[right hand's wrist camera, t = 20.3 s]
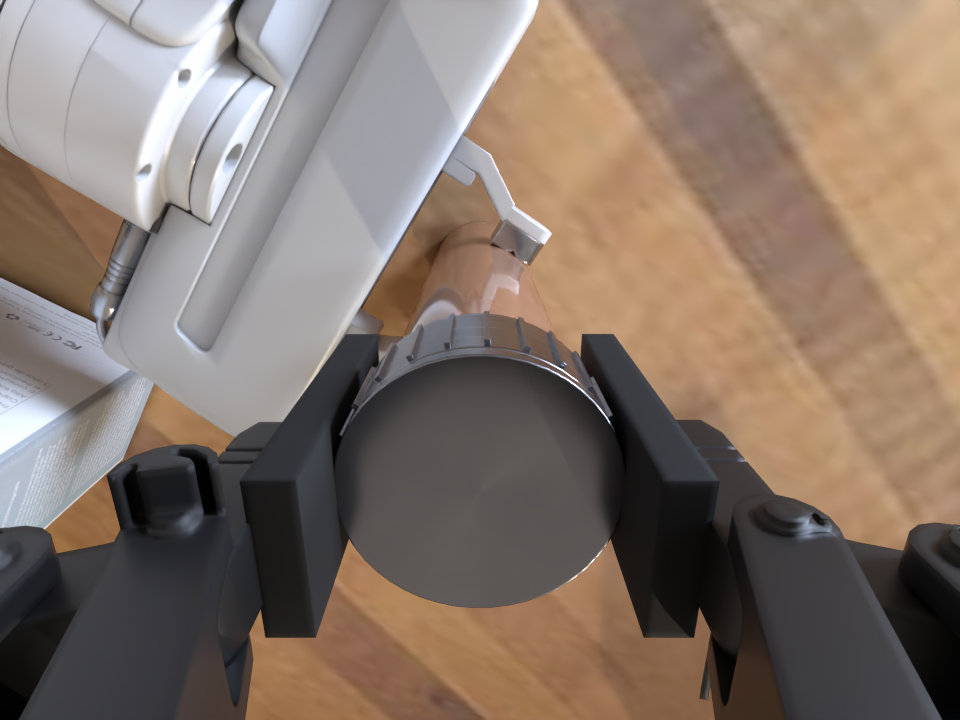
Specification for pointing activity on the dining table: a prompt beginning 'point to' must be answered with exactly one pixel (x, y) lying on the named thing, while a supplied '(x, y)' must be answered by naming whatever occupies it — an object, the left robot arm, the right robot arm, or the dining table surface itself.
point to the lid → (479, 463)
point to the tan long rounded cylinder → (478, 281)
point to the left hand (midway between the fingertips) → (499, 308)
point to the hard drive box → (57, 408)
